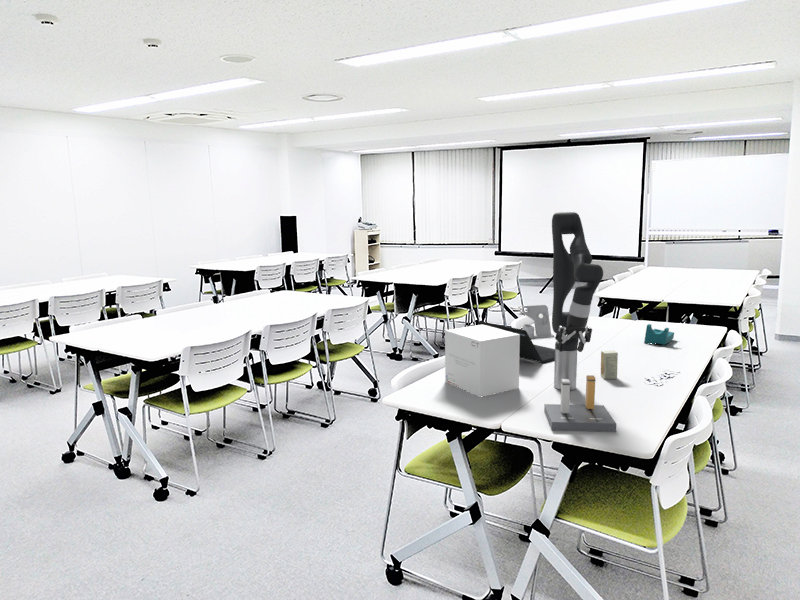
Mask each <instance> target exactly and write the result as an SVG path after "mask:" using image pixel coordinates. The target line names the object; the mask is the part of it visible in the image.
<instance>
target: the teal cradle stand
mask: <svg viewBox="0 0 800 600" xmlns="http://www.w3.org/2000/svg"><path fill="white" fill-rule="evenodd" d="M644 335H645V337H644V341H643V343H644V344H646V343H652V344H655V343H656V344H659V345H663V346H665V345H667V344H668V343H669V342H671V341H672V340H674V339H675V338H674V336H675V332H673V331H670V328H669V327H665V328H664V330H663V329H657V328H652V324H650V323H648V324H647V325H646V328H645V334H644ZM656 344H655V345H656Z"/></svg>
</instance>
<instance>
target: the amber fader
mask: <svg viewBox="0 0 800 600" xmlns="http://www.w3.org/2000/svg"><path fill="white" fill-rule="evenodd" d="M585 379H586V380H585V381H586V385H585V388H586V389H585V404H584V405H585V406H586V408H587V409H594V405H595V398H596V397H595V395H596V382H597V381H596V376H595V375H591V374H590V375H589V374H588V375H586V378H585Z"/></svg>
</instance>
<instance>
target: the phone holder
mask: <svg viewBox="0 0 800 600" xmlns="http://www.w3.org/2000/svg"><path fill="white" fill-rule="evenodd" d="M525 308H526V309H527V311H525V310H524V309H525ZM521 313H522V314H523V315H524V316H526V317H528V318H529V319H531V320H533V323H534V326H533V325H531V324H528V323H527V324H526V323H525V324H523V325H522V330H526V332H527V333H528V335H529V337H530V339H538V338H539V339H540V338H551V337H553V338H555V334H554V333H553V334H552V330H551V321H550V314H549V307H548V306H547V305H546V304H541V305H539V304H537V305H524V306H522V308H521ZM540 314H541V315H542V317H540V316H539V315H540Z"/></svg>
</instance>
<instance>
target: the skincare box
mask: <svg viewBox="0 0 800 600" xmlns="http://www.w3.org/2000/svg"><path fill="white" fill-rule="evenodd" d="M600 352H601V353H600V378H602V379H603V380H612V379H618V360H619V359H618V357H619V356H618V355H619V354H618V352H617V351H616V350H601V351H600Z"/></svg>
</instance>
